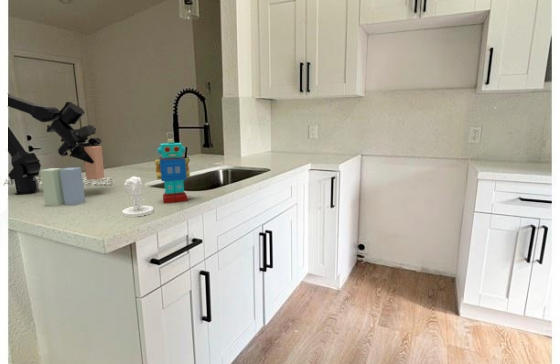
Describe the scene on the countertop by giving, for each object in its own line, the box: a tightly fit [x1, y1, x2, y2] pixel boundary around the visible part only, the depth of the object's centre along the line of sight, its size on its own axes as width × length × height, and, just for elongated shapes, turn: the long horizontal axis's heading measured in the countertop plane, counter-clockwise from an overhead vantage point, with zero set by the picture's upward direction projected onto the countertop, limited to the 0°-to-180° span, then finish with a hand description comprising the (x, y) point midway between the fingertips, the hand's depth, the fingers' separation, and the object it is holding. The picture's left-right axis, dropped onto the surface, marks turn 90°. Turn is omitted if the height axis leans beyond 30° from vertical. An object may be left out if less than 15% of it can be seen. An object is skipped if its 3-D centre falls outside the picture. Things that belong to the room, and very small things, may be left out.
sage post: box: [39, 167, 65, 207], centre depth 114 cm, size 4×4×12 cm
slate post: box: [60, 167, 86, 206], centre depth 115 cm, size 4×4×12 cm
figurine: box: [122, 176, 154, 218], centre depth 104 cm, size 9×9×12 cm
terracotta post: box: [84, 145, 105, 181], centre depth 127 cm, size 4×4×12 cm
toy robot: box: [154, 131, 191, 204], centre depth 117 cm, size 12×6×25 cm, turn 114°
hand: (97, 161), depth 127 cm, fingers closed on terracotta post, 4 cm apart
